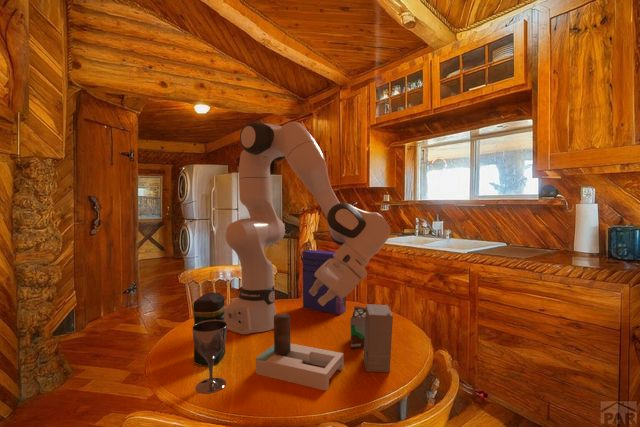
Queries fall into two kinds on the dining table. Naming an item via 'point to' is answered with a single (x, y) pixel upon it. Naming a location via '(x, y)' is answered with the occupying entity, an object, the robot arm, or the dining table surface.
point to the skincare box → (377, 338)
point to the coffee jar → (208, 318)
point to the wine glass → (210, 350)
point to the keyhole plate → (301, 365)
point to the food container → (358, 327)
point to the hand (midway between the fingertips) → (315, 298)
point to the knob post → (282, 334)
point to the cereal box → (310, 266)
